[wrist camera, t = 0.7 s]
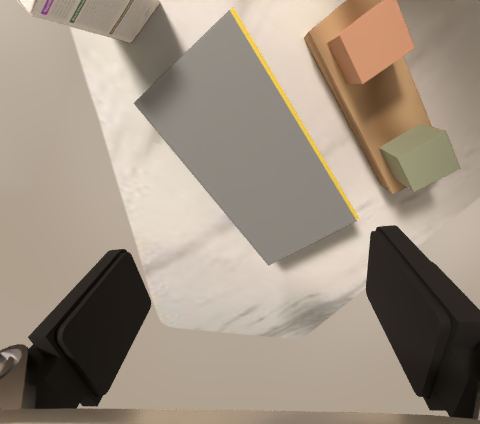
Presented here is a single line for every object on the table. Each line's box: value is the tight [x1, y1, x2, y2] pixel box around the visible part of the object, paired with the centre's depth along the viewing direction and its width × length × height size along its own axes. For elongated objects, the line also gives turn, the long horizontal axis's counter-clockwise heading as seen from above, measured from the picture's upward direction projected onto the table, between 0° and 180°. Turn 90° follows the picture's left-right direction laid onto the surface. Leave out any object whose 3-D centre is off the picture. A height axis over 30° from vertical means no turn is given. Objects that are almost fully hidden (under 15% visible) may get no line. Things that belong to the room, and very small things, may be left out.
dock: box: [134, 7, 359, 266], centre depth 31 cm, size 13×26×6 cm, turn 36°
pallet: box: [304, 0, 432, 194], centre depth 28 cm, size 6×21×4 cm, turn 36°
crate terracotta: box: [327, 0, 415, 84], centre depth 23 cm, size 4×4×4 cm
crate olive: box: [379, 124, 460, 192], centre depth 27 cm, size 4×4×4 cm
